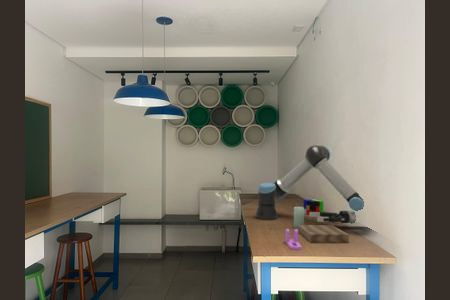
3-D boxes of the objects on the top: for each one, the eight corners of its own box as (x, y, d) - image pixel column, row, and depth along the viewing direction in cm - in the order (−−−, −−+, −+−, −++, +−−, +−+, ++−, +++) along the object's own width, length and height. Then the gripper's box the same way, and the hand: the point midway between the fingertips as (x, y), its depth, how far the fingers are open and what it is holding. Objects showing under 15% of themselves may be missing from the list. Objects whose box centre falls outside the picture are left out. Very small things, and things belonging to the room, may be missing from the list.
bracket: (285, 241, 154) (285, 228, 154) (296, 242, 154) (296, 228, 154) (290, 250, 141) (290, 235, 141) (302, 250, 141) (302, 235, 141)
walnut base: (310, 242, 153) (310, 234, 153) (297, 232, 173) (298, 225, 173) (348, 242, 154) (348, 234, 154) (332, 232, 174) (332, 225, 174)
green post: (295, 228, 181) (295, 208, 181) (292, 226, 187) (292, 206, 187) (305, 228, 181) (305, 208, 181) (302, 226, 187) (302, 206, 187)
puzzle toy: (303, 213, 229) (303, 199, 229) (313, 212, 233) (313, 199, 233) (312, 215, 220) (312, 201, 220) (323, 214, 224) (323, 201, 224)
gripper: (357, 228, 174) (321, 228, 172) (338, 218, 198) (306, 218, 197) (357, 215, 174) (321, 214, 172) (338, 207, 198) (306, 207, 197)
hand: (313, 216), depth 184 cm, fingers open, 13 cm apart
